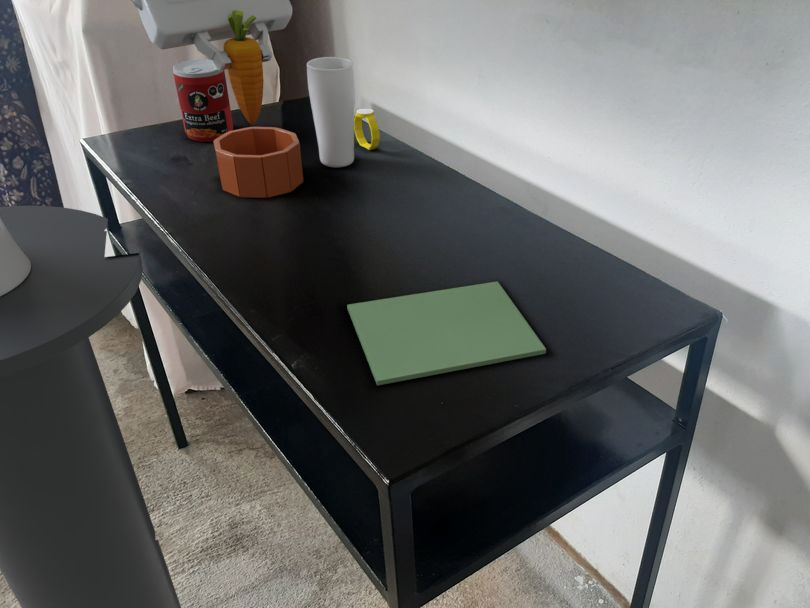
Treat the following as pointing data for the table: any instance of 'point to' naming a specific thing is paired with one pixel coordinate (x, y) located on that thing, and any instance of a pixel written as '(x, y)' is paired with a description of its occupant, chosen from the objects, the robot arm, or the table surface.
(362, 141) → the watch
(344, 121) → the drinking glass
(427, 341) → the mat
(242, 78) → the carrot
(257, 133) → the pot
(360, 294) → the table surface
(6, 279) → the robot arm
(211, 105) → the canned food
